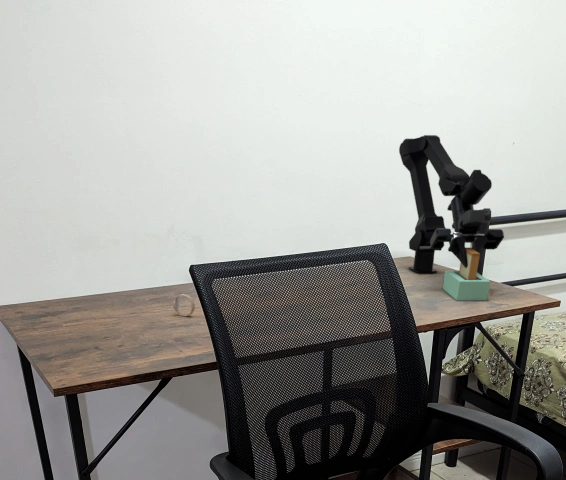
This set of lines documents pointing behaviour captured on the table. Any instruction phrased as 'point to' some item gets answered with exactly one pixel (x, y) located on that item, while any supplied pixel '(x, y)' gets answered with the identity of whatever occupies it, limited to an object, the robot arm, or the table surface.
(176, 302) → the beige ring
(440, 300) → the table surface
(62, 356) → the table surface
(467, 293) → the toaster
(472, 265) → the toast
